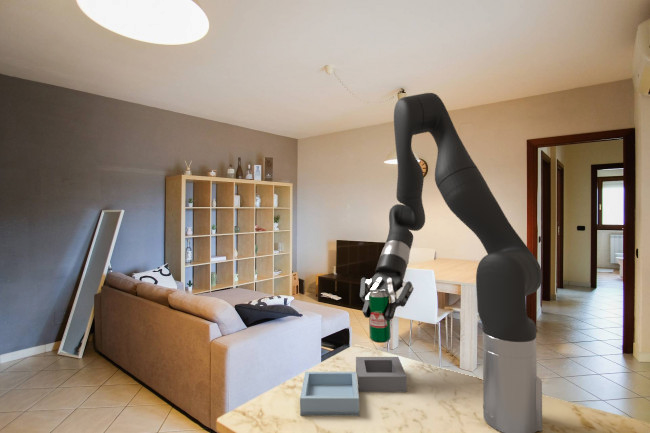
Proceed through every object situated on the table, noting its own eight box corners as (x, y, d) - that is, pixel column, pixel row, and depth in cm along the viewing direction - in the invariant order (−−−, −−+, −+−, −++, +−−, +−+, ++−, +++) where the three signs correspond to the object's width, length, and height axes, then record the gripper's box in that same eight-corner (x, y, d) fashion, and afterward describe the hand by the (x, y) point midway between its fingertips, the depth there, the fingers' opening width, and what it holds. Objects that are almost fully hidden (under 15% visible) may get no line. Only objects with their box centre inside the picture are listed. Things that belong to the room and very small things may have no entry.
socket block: (398, 370, 91) (398, 356, 91) (406, 391, 80) (406, 376, 80) (356, 370, 91) (355, 356, 91) (358, 391, 80) (358, 376, 80)
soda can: (367, 342, 84) (365, 292, 84) (372, 335, 89) (371, 288, 89) (388, 344, 82) (386, 293, 82) (392, 337, 87) (391, 289, 87)
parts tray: (355, 386, 83) (355, 371, 83) (359, 415, 71) (359, 398, 71) (305, 386, 83) (305, 371, 83) (300, 415, 71) (300, 398, 71)
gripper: (364, 251, 96) (344, 305, 86) (416, 253, 88) (401, 313, 78) (373, 268, 100) (355, 321, 90) (423, 271, 93) (409, 330, 83)
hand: (376, 317), depth 84 cm, fingers closed on soda can, 5 cm apart
